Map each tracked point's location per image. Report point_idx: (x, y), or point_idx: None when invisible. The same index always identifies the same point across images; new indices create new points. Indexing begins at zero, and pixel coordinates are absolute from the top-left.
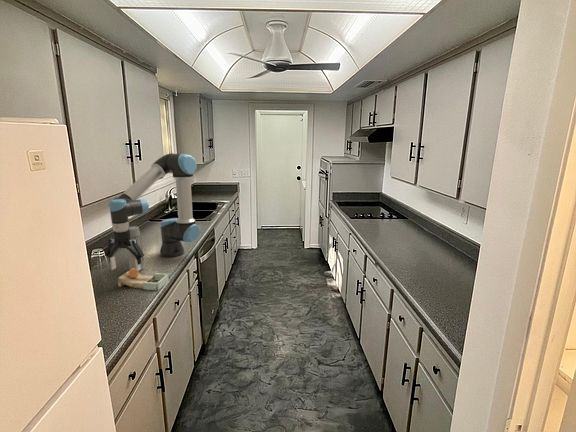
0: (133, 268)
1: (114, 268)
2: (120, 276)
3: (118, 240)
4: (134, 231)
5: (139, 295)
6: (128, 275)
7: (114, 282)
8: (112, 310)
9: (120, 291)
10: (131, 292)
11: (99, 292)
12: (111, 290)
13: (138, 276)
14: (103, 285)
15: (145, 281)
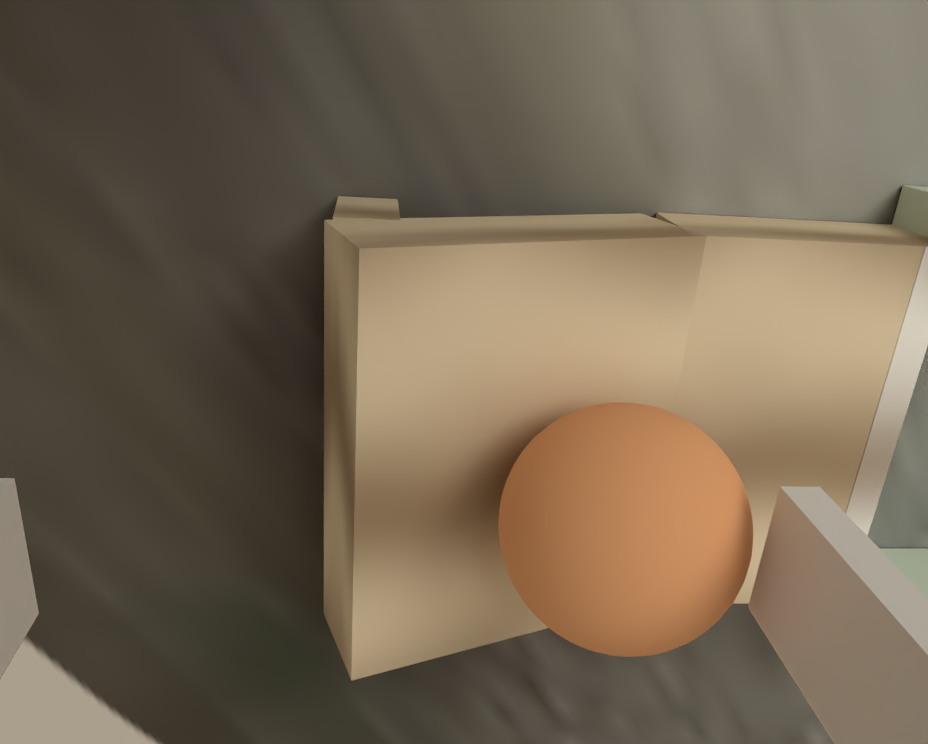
0: (670, 604)
1: (24, 561)
2: (354, 623)
3: None
4: None
5: (792, 724)
6: (463, 481)
7: (133, 405)
8: None
9: (467, 671)
10: (648, 674)
11: (161, 736)
12: (304, 664)
13: (640, 365)
14: None
15: None
